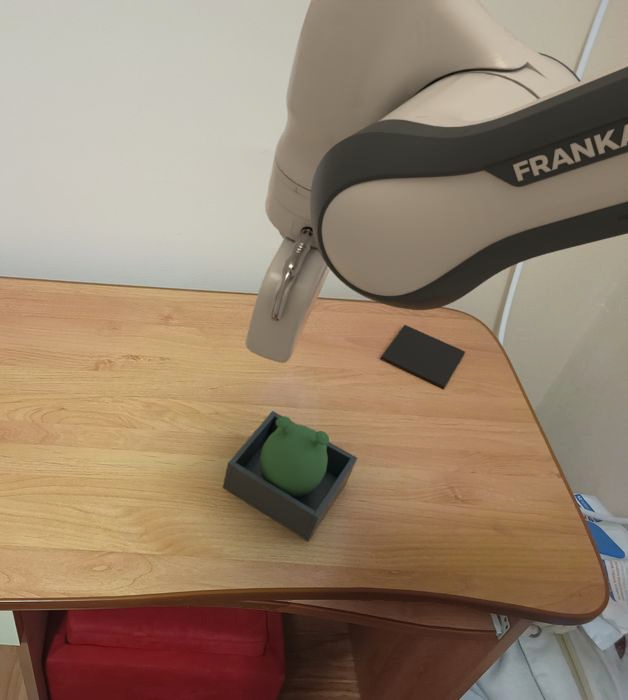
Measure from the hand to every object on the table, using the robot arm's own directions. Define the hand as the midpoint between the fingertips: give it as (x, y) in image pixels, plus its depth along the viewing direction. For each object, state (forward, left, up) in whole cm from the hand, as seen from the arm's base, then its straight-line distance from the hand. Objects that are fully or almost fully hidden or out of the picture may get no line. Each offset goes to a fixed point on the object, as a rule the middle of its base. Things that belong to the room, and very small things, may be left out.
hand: (291, 318), depth 58 cm
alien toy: (-4, 0, -22) cm, 22 cm away
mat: (-9, -31, -22) cm, 39 cm away
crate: (-4, 0, -22) cm, 22 cm away
